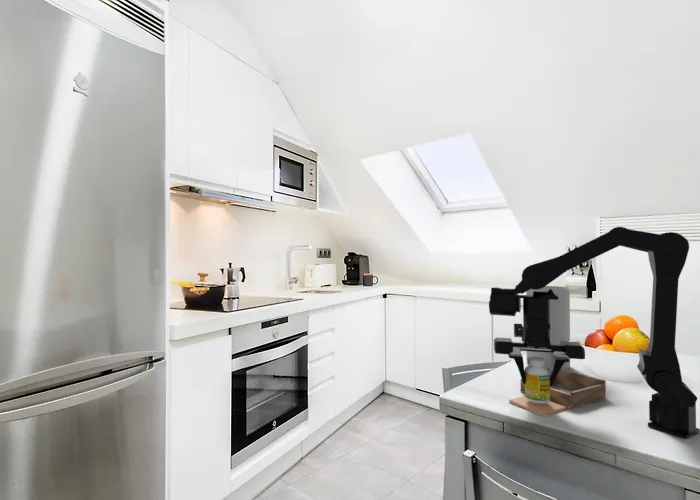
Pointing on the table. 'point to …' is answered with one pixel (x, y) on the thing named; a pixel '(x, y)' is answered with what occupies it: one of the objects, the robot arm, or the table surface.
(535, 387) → the supplement bottle
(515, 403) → the terracotta tile
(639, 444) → the table surface
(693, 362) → the table surface
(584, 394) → the brown wooden tray
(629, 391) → the table surface
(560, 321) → the cylinder vase
